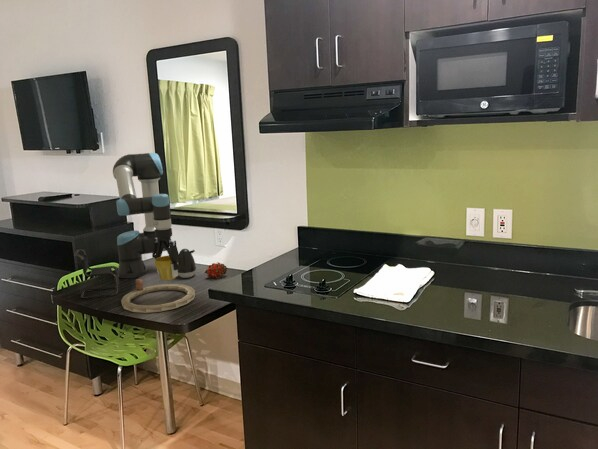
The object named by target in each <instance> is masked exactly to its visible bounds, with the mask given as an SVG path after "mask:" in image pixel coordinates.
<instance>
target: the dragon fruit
mask: <svg viewBox="0 0 598 449" xmlns="http://www.w3.org/2000/svg"><path fill="white" fill-rule="evenodd" d="M227 271H228V268H227V265H225V264H224V263H221V262H215V263H211V264H209V265H208V267H207V269H205V271H204V274H207V277H208V278H212V279H218V278H221V277H223V275H226V274H227Z"/></svg>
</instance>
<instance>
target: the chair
mask: <svg viewBox="0 0 598 449" xmlns="http://www.w3.org/2000/svg"><path fill="white" fill-rule="evenodd" d="M79 252H83V253H84V254H83V255H84V256H83V255H81V254H79ZM73 256H74V258H75V257H76V258H77V257H79V258H80V259H81V260H80V261H81V266H82V271H83V276H85V277H87V278H93V277H94V278H96V277H104V276H110V275H111V276H113V278H114V285H113V286H105V287H104V286H103V287H97V288H95V287H94V288H89V289H85V290H83V291H82V292H81V293H80V299H81V298H86V299H85V300H88V299H87V298H91V299H96V298H97V299H98V297H99V298H106V296H107V297H113V296H116V295H117V294H118V293H119V285H120V279H119V277H118V268H117V267H116V266H114V265H109V266H108V265H107V266H98V267H90V266H89V261H88V260H89V259H88V253H87V251H86V249H84V248H77V249H76V250H75V252H74V254H73ZM112 269H113V270H114V271H115V273H114V272H111V271H112ZM88 270H89V271H90V274H88V273H87V272H88ZM103 289H104V290H113V289H115V292H112V293H107V294H98V295H91V296H85V293H86V292H85V291H88V290H97V291H102V290H103ZM84 292H85V293H84Z"/></svg>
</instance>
